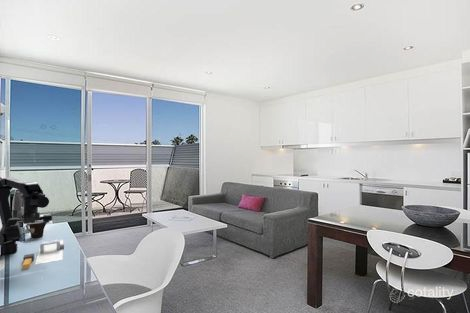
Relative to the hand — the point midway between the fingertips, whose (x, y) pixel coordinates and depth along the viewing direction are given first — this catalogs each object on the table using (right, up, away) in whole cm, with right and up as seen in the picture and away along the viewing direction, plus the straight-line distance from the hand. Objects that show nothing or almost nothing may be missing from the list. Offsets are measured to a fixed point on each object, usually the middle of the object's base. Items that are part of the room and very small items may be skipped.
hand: (31, 235), depth 140 cm
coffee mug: (-25, -12, +37) cm, 47 cm away
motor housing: (+3, -11, +10) cm, 16 cm away
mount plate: (+4, -12, +10) cm, 16 cm away
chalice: (-39, -12, +48) cm, 63 cm away
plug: (+4, -12, -8) cm, 15 cm away
